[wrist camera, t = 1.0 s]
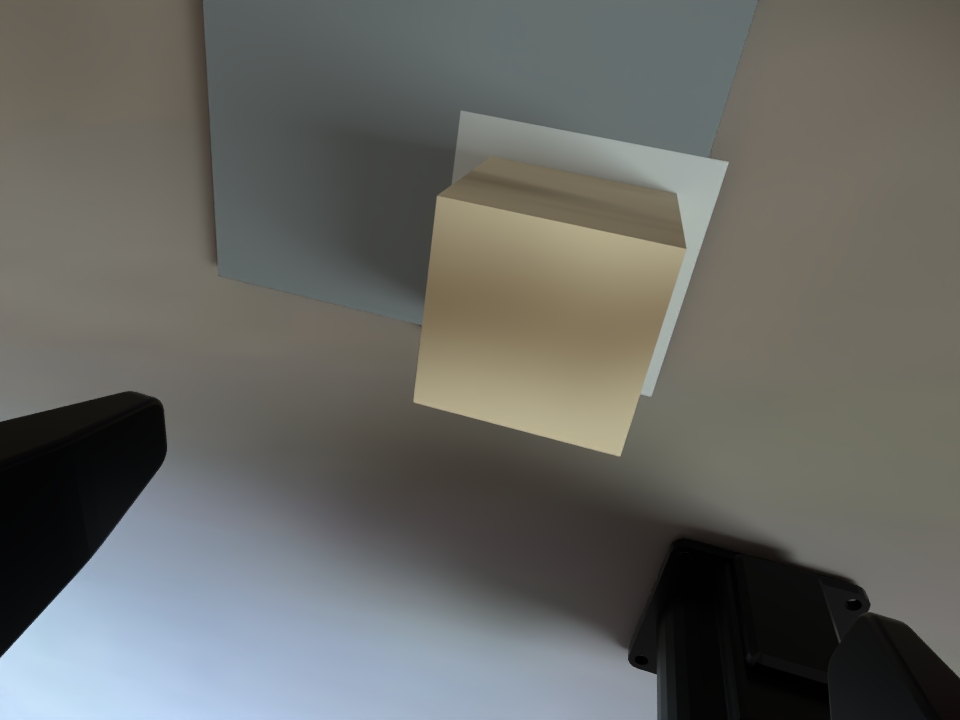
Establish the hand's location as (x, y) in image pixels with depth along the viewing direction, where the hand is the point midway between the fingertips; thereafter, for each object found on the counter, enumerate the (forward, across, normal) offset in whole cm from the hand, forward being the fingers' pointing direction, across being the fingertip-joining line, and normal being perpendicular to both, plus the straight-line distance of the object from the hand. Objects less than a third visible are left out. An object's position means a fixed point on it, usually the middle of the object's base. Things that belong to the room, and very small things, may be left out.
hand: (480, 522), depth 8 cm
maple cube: (+11, 0, 0) cm, 11 cm away
